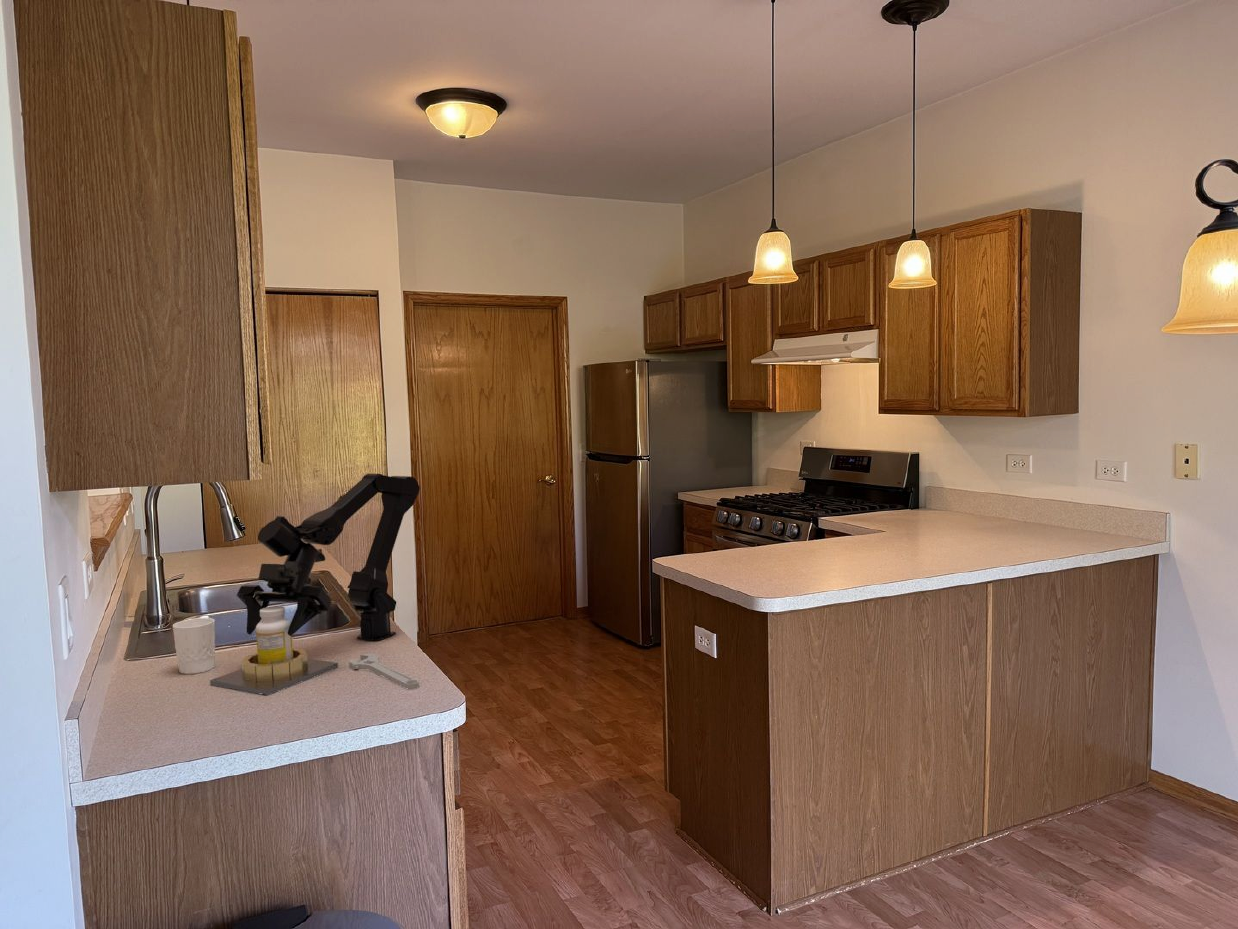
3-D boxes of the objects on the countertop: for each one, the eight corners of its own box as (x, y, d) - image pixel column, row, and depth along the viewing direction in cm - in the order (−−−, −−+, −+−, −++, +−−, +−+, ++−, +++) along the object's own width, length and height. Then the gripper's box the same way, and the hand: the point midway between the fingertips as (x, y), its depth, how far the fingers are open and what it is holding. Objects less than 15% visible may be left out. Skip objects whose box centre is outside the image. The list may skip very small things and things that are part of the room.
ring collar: (283, 659, 185) (282, 641, 185) (338, 667, 178) (336, 648, 178) (210, 685, 169) (208, 665, 169) (267, 695, 162) (265, 675, 162)
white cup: (169, 676, 176) (165, 628, 175) (186, 664, 184) (183, 618, 183) (207, 674, 176) (204, 626, 175) (224, 662, 184) (220, 617, 183)
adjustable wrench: (422, 689, 164) (421, 680, 164) (390, 697, 160) (389, 688, 160) (373, 659, 184) (372, 651, 184) (343, 666, 180) (343, 658, 180)
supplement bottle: (275, 664, 178) (271, 604, 177) (301, 667, 176) (297, 605, 175) (251, 674, 172) (247, 611, 171) (277, 677, 169) (273, 613, 168)
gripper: (239, 546, 177) (206, 612, 167) (320, 547, 173) (291, 614, 164) (264, 576, 186) (235, 640, 176) (343, 577, 182) (317, 643, 172)
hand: (268, 634), depth 172 cm, fingers open, 9 cm apart
